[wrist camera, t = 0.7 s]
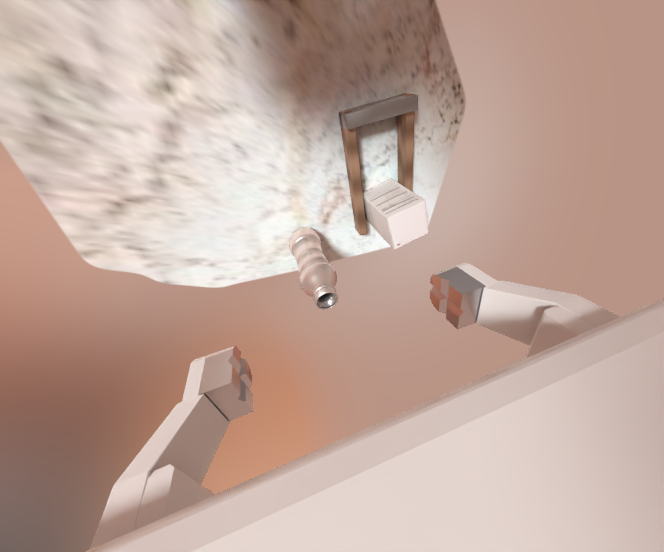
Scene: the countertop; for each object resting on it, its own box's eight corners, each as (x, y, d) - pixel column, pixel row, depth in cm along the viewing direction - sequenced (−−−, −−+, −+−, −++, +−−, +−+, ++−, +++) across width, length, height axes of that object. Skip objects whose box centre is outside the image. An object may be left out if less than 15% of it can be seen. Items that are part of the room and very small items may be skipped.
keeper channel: (338, 112, 40) (346, 114, 38) (405, 93, 42) (418, 94, 39) (355, 228, 55) (362, 237, 52) (404, 212, 56) (413, 220, 53)
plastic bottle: (322, 231, 53) (355, 291, 38) (306, 255, 56) (331, 319, 41) (297, 218, 50) (322, 278, 35) (281, 244, 52) (298, 311, 38)
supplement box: (397, 207, 55) (429, 234, 46) (367, 221, 55) (393, 251, 46) (391, 176, 50) (426, 199, 41) (358, 192, 50) (386, 218, 41)
